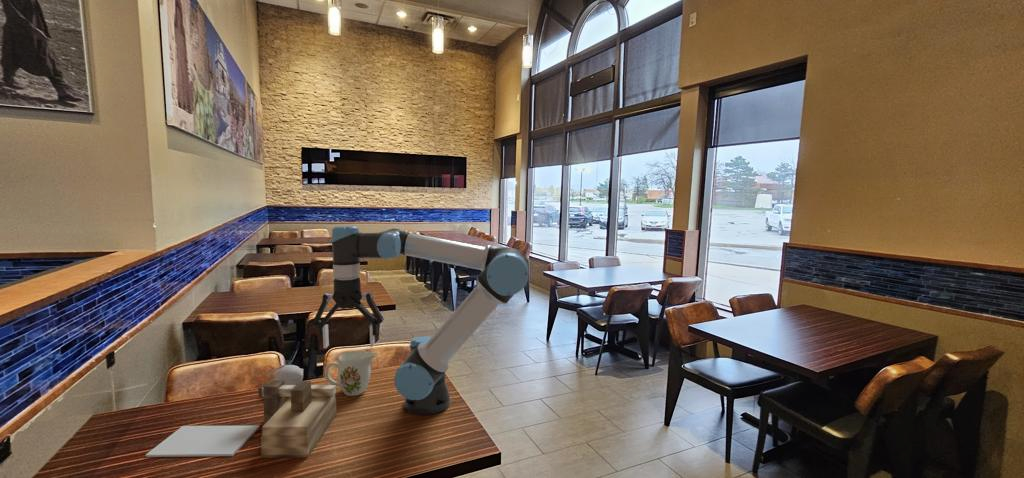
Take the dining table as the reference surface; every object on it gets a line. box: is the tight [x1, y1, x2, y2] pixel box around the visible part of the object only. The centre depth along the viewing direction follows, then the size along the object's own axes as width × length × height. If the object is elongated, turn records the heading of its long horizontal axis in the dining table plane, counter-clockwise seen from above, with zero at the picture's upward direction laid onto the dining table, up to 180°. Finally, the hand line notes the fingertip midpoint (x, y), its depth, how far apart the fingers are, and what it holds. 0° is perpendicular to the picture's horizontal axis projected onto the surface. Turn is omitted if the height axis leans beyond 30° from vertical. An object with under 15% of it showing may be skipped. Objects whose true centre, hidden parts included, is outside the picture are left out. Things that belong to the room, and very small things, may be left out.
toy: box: [267, 364, 304, 385], centre depth 153 cm, size 13×9×15 cm
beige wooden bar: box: [258, 382, 337, 399], centre depth 130 cm, size 22×3×3 cm, turn 94°
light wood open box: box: [260, 379, 337, 459], centre depth 124 cm, size 19×22×12 cm
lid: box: [261, 380, 336, 436], centre depth 123 cm, size 12×21×9 cm, turn 4°
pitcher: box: [324, 350, 378, 397], centre depth 151 cm, size 11×18×14 cm, turn 96°
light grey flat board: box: [145, 425, 261, 458], centre depth 120 cm, size 22×14×1 cm, turn 94°
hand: (349, 346), depth 129 cm, fingers open, 13 cm apart
